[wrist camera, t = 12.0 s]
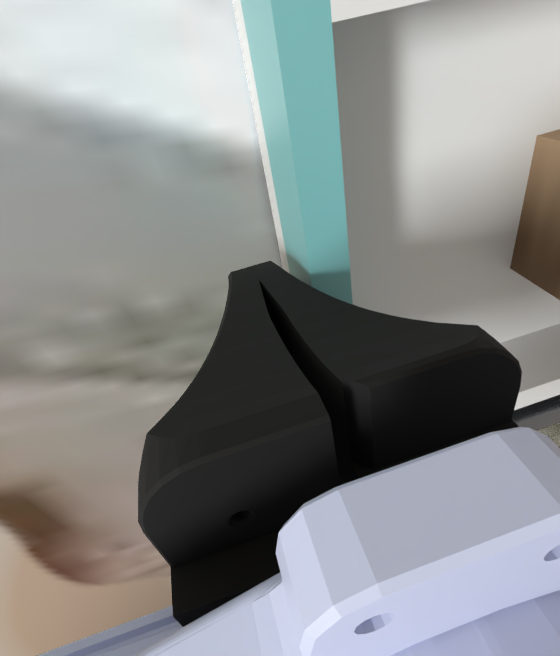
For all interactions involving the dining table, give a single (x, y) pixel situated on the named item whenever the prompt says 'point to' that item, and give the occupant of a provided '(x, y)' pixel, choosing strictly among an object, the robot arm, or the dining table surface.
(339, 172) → the tray
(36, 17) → the dining table surface
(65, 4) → the dining table surface
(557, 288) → the walnut block
